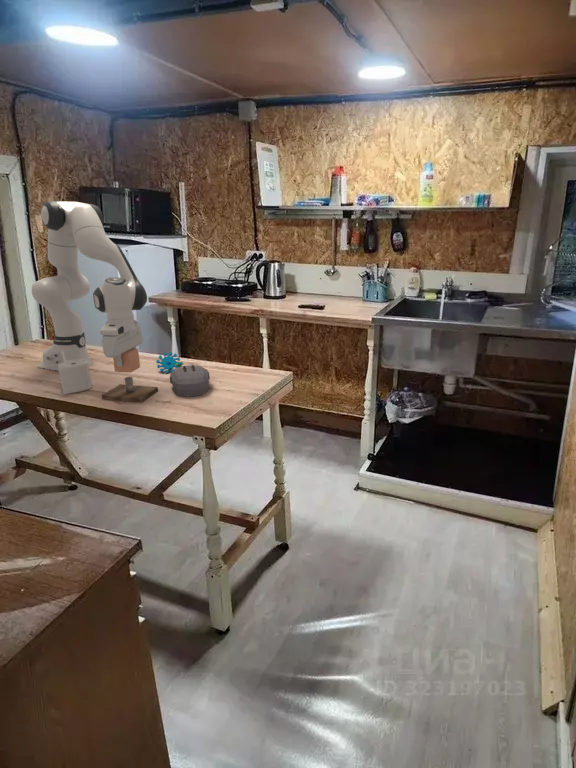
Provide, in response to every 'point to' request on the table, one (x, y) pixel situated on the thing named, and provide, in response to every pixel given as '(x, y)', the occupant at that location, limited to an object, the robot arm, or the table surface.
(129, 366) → the salmon orange block
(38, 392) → the table surface
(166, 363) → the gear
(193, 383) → the small grey backpack
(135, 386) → the stub plate
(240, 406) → the table surface
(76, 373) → the toilet tissue
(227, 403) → the table surface
